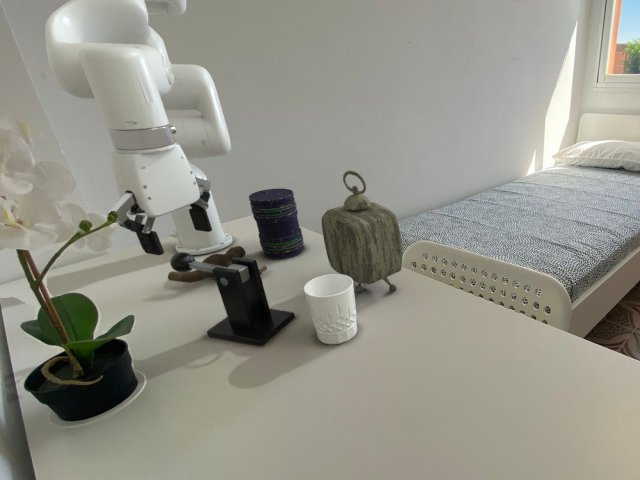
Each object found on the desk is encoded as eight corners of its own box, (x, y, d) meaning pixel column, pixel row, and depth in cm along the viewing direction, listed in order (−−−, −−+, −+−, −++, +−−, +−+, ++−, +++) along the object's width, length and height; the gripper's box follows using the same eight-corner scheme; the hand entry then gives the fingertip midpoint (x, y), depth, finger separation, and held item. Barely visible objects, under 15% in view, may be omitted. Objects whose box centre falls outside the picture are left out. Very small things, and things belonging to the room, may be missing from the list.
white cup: (369, 332, 74) (362, 284, 69) (328, 353, 68) (318, 302, 64) (345, 315, 78) (337, 269, 74) (306, 333, 73) (295, 285, 69)
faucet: (223, 257, 101) (283, 266, 100) (170, 288, 85) (239, 299, 85) (221, 239, 99) (281, 249, 98) (165, 267, 83) (236, 279, 83)
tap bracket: (208, 336, 72) (184, 272, 66) (245, 309, 80) (227, 250, 74) (262, 346, 70) (242, 280, 64) (295, 317, 78) (280, 256, 72)
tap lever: (168, 274, 71) (162, 255, 70) (186, 265, 75) (180, 247, 73) (238, 289, 69) (234, 270, 67) (254, 279, 72) (250, 261, 70)
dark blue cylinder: (313, 248, 106) (302, 192, 99) (279, 263, 98) (265, 203, 91) (289, 240, 110) (276, 186, 103) (254, 254, 103) (239, 196, 96)
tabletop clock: (405, 291, 87) (395, 173, 75) (370, 309, 81) (353, 183, 69) (364, 270, 95) (349, 161, 83) (329, 285, 89) (308, 170, 77)
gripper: (173, 127, 70) (203, 221, 78) (61, 148, 55) (113, 261, 64) (210, 130, 69) (237, 225, 77) (105, 153, 54) (152, 267, 62)
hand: (181, 241), depth 70 cm, fingers open, 9 cm apart
